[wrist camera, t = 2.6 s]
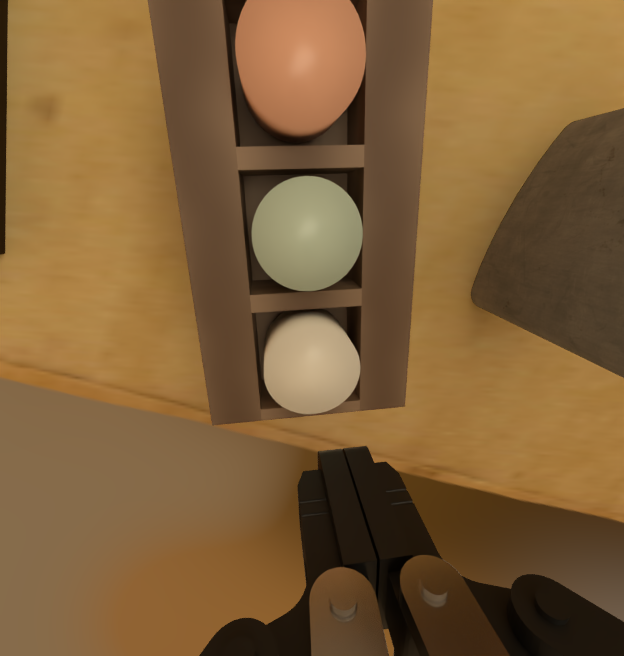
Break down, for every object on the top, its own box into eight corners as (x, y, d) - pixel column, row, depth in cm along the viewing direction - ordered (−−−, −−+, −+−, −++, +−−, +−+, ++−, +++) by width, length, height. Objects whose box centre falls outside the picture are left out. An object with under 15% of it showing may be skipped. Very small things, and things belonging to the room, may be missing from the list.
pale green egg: (345, 179, 18) (363, 174, 14) (345, 273, 19) (361, 288, 16) (250, 182, 17) (246, 177, 14) (258, 278, 19) (256, 294, 16)
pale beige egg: (345, 303, 20) (361, 322, 17) (345, 378, 22) (359, 409, 18) (260, 308, 19) (259, 330, 16) (267, 385, 21) (267, 418, 18)
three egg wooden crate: (362, 65, 24) (435, -38, 14) (358, 338, 31) (404, 406, 20) (197, 64, 23) (140, -50, 12) (231, 347, 30) (212, 425, 19)
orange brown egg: (346, 20, 15) (367, -28, 12) (345, 142, 17) (364, 127, 14) (236, 18, 15) (227, -34, 12) (246, 143, 17) (242, 129, 13)
